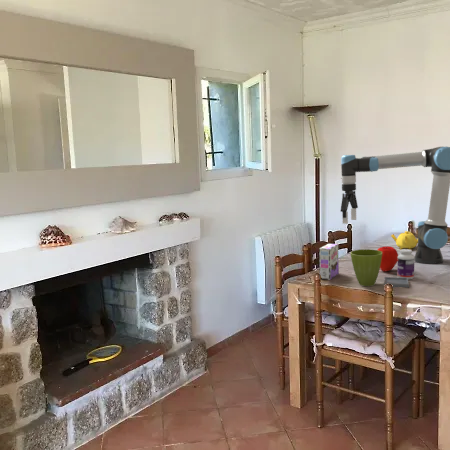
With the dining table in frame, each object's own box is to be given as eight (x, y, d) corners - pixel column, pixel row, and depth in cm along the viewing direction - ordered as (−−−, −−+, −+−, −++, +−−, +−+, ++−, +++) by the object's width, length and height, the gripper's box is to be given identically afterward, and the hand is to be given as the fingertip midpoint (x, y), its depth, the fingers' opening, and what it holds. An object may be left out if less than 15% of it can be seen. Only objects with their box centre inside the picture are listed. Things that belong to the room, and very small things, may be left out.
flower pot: (346, 286, 247) (346, 254, 244) (356, 279, 259) (355, 248, 257) (377, 289, 239) (377, 256, 236) (385, 281, 251) (385, 250, 249)
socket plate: (407, 281, 250) (407, 277, 249) (408, 287, 239) (408, 283, 239) (384, 281, 253) (384, 277, 253) (384, 287, 242) (384, 283, 242)
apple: (398, 274, 265) (398, 248, 263) (374, 273, 269) (374, 248, 267) (398, 268, 276) (398, 244, 274) (376, 267, 280) (376, 244, 278)
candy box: (330, 280, 259) (329, 248, 257) (319, 279, 262) (318, 248, 260) (339, 273, 271) (338, 243, 268) (328, 272, 274) (328, 243, 271)
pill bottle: (394, 276, 260) (394, 249, 258) (409, 275, 261) (410, 248, 258) (401, 280, 252) (401, 252, 250) (417, 279, 253) (417, 251, 250)
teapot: (425, 246, 327) (426, 229, 325) (419, 252, 312) (420, 234, 310) (394, 244, 338) (394, 228, 336) (386, 250, 323) (386, 232, 321)
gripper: (350, 181, 290) (350, 218, 293) (333, 185, 269) (334, 224, 272) (363, 181, 286) (363, 218, 289) (347, 185, 265) (348, 225, 268)
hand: (349, 221), depth 281 cm, fingers open, 13 cm apart
